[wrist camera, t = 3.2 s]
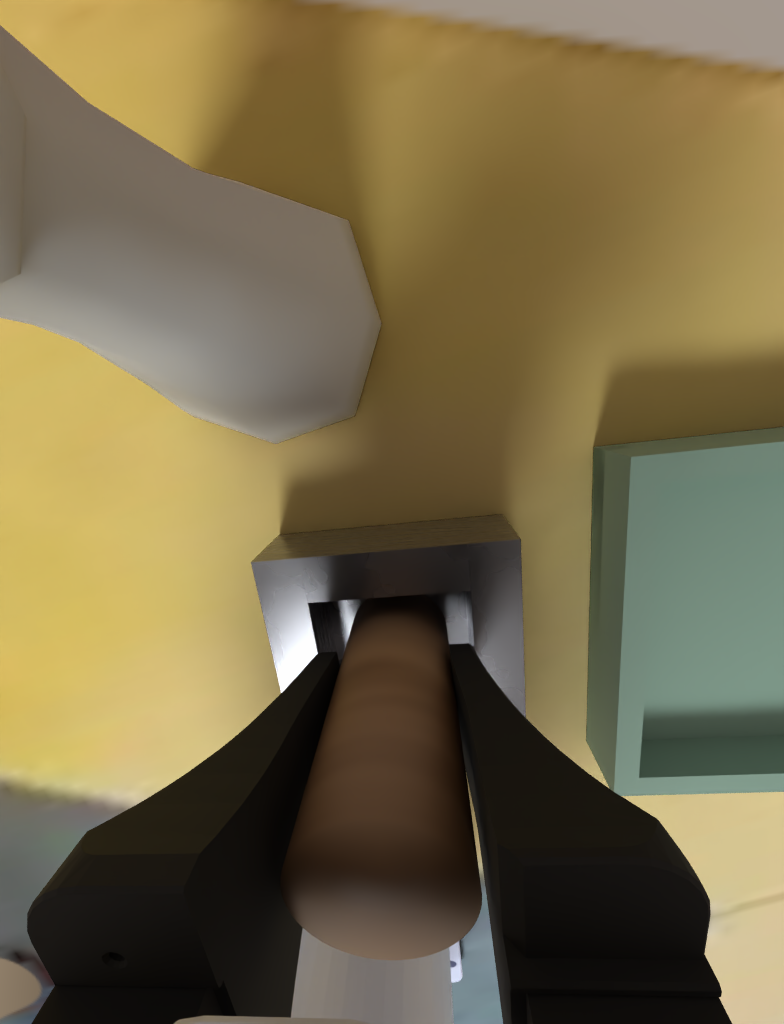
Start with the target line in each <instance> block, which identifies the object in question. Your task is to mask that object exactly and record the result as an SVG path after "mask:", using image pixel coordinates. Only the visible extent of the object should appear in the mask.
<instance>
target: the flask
mask: <svg viewBox="0 0 784 1024" xmlns="http://www.w3.org/2000/svg"><path fill="white" fill-rule="evenodd" d="M0 318H4V319H9V320H14V321H18V322H23V323H28V324H32V325H35V326H38V327H40V328H43V329H45V330H48V331H51V332H53V333H56V334H58V335H61V336H64V337H66V338H69V339H71V340H74V341H77V342H79V343H81V344H82V345H84V346H86V347H87V348H89V349H90V350H92V351H94V352H95V353H97V354H99V355H100V356H102V357H103V358H105V359H107V360H108V361H110V362H111V363H113V364H115V365H116V366H118V367H120V368H121V369H123V370H124V371H126V372H128V373H129V374H131V375H132V376H134V377H136V378H137V379H139V380H141V381H142V382H144V383H145V384H147V385H149V386H150V387H151V388H153V389H154V390H156V391H157V392H158V393H160V394H161V395H162V396H164V397H165V398H167V399H168V400H169V401H171V402H172V403H174V404H175V405H176V406H178V407H179V408H181V409H182V410H183V411H185V412H187V413H188V414H190V415H192V416H193V417H196V418H199V419H202V420H205V421H208V422H211V423H214V424H217V425H220V426H223V427H226V428H229V429H232V430H235V431H238V432H241V433H244V434H247V435H250V436H253V437H256V438H259V439H262V440H265V441H268V442H271V443H274V444H277V443H280V442H283V441H285V440H288V439H291V438H294V437H297V436H300V435H302V434H305V433H308V432H311V431H314V430H316V429H319V428H322V427H325V426H328V425H331V424H333V423H336V422H339V421H342V420H345V419H347V418H350V417H353V416H355V414H356V411H357V407H358V404H359V400H360V397H361V393H362V390H363V386H364V383H365V380H366V376H367V373H368V369H369V366H370V362H371V359H372V355H373V352H374V348H375V345H376V341H377V338H378V334H379V331H380V327H381V324H382V323H381V320H380V317H379V314H378V311H377V308H376V305H375V302H374V298H373V295H372V292H371V289H370V286H369V283H368V280H367V276H366V273H365V270H364V267H363V264H362V261H361V258H360V254H359V251H358V248H357V245H356V242H355V239H354V236H353V232H352V229H351V226H350V223H349V220H346V219H343V218H340V217H338V216H335V215H332V214H329V213H326V212H324V211H321V210H318V209H315V208H312V207H309V206H307V205H304V204H301V203H298V202H295V201H292V200H290V199H287V198H284V197H281V196H278V195H275V194H273V193H270V192H267V191H264V190H261V189H258V188H255V187H253V186H250V185H247V184H244V183H241V182H238V181H235V180H231V179H227V178H223V177H220V176H216V175H212V174H209V173H205V172H202V171H199V170H197V169H194V168H192V167H190V166H189V165H187V164H186V163H184V162H182V161H181V160H179V159H178V158H176V157H174V156H173V155H171V154H170V153H168V152H166V151H165V150H163V149H162V148H160V147H158V146H157V145H155V144H154V143H152V142H150V141H149V140H147V139H146V138H144V137H142V136H141V135H139V134H138V133H136V132H134V131H133V130H131V129H130V128H128V127H126V126H125V125H123V124H122V123H120V122H118V121H117V120H115V119H114V118H112V117H110V116H109V115H107V114H106V113H104V112H102V111H101V110H99V109H98V108H96V107H94V106H93V105H91V104H90V103H88V102H87V101H86V100H85V99H84V98H82V97H81V96H80V95H79V94H78V93H77V92H76V91H74V90H73V89H72V88H71V87H70V86H69V85H68V84H66V83H65V82H64V81H63V80H62V79H61V78H60V77H58V76H57V75H56V74H55V73H54V72H53V71H52V70H51V69H49V68H48V67H47V66H46V65H45V64H44V63H43V62H41V61H40V60H39V59H38V58H37V57H36V56H35V55H33V54H32V53H31V52H30V51H29V50H28V49H27V48H25V47H24V46H23V45H22V44H21V43H20V42H19V41H17V40H16V39H15V38H14V37H13V36H12V35H11V34H10V33H8V32H7V31H6V30H5V29H4V28H3V27H2V26H0Z"/></svg>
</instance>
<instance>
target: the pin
mask: <svg viewBox="0 0 784 1024" xmlns="http://www.w3.org/2000/svg"><path fill="white" fill-rule="evenodd" d="M280 887H281V893H282V897H283V900H284V902H285V905H286V907H287V908H288V910H289V912H290V914H291V915H292V916H293V917H294V919H295V920H296V921H297V922H298V923H299V924H300V925H301V926H302V927H303V929H305V930H306V931H307V932H308V933H310V934H311V935H312V936H314V937H315V938H317V939H318V940H320V941H321V942H323V943H325V944H327V945H329V946H331V947H333V948H335V949H338V950H340V951H343V952H346V953H349V954H352V955H355V956H360V957H364V958H370V959H377V960H408V959H416V958H420V957H425V956H429V955H432V954H435V953H438V952H440V951H442V950H445V949H447V948H449V947H450V946H452V945H454V944H455V943H457V942H458V941H459V940H461V939H462V938H463V937H464V936H465V935H466V934H467V933H468V932H469V931H470V930H471V929H472V927H473V926H474V924H475V923H476V921H477V918H478V916H479V914H480V910H481V905H482V892H481V884H480V877H479V869H478V861H477V854H476V846H475V838H474V831H473V823H472V816H471V808H470V800H469V793H468V785H467V777H466V770H465V762H464V755H463V747H462V739H461V732H460V724H459V716H458V709H457V702H456V695H455V690H454V684H453V676H452V669H451V660H450V648H449V640H448V633H447V626H446V621H445V618H444V616H443V614H442V612H441V610H440V609H439V607H438V606H437V605H436V604H435V603H434V602H433V601H432V600H431V599H429V598H428V597H426V596H425V595H423V594H421V595H407V596H394V597H381V598H368V599H367V600H365V601H364V602H363V603H362V605H361V606H360V607H359V609H358V610H357V612H356V615H355V617H354V620H353V624H352V627H351V631H350V634H349V638H348V641H347V645H346V648H345V652H344V655H343V659H342V662H341V666H340V669H339V673H338V676H337V680H336V683H335V686H334V690H333V693H332V697H331V700H330V704H329V707H328V711H327V714H326V718H325V721H324V725H323V728H322V732H321V735H320V739H319V742H318V746H317V749H316V753H315V756H314V760H313V763H312V767H311V770H310V773H309V777H308V780H307V784H306V787H305V791H304V794H303V798H302V801H301V805H300V808H299V812H298V815H297V819H296V822H295V826H294V829H293V833H292V836H291V840H290V843H289V847H288V850H287V853H286V857H285V860H284V864H283V867H282V872H281V877H280Z"/></svg>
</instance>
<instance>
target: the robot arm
mask: <svg viewBox="0 0 784 1024" xmlns="http://www.w3.org/2000/svg"><path fill="white" fill-rule="evenodd" d="M449 648H450V660H451V669H452V676H453V684H454V690H455V695H456V702H457V709H458V716H459V724H460V732H461V739H462V747H463V755H464V762H465V769H466V773H467V778H468V783H469V787H470V792H471V797H472V801H473V806H474V811H475V816H476V822H477V827H478V834H479V841H480V849H481V856H482V863H483V871H484V878H485V886H486V894H487V901H488V909H489V916H490V924H491V932H492V939H493V947H494V955H495V963H496V970H497V978H498V986H499V994H500V1002H501V1009H502V1017H503V1024H732V1023H731V1021H730V1019H729V1017H728V1015H727V1013H726V1011H725V1009H724V1007H723V1005H722V1003H721V1001H720V999H719V997H721V993H722V991H721V987H720V984H719V982H718V980H717V978H716V976H715V974H714V972H713V970H712V968H711V966H710V964H709V962H708V961H707V959H706V957H705V955H704V953H705V946H706V940H707V933H708V927H709V921H710V900H709V898H708V895H707V893H706V891H705V889H704V887H703V885H702V884H701V882H700V880H699V878H698V876H697V875H696V873H695V871H694V870H693V868H692V867H691V865H690V863H689V862H688V860H687V859H686V857H685V856H684V855H683V853H682V852H681V850H680V849H679V848H678V846H677V845H676V843H675V842H674V841H673V839H672V838H671V837H670V835H669V834H668V832H667V831H666V830H665V828H664V827H663V826H662V824H661V823H660V822H659V820H658V819H656V818H655V817H653V816H651V815H650V814H648V813H647V812H645V811H644V810H642V809H640V808H639V807H637V806H636V805H634V804H632V803H631V802H629V801H628V800H626V799H624V798H623V797H621V796H620V795H618V794H617V793H615V792H613V791H612V790H610V789H609V788H608V787H606V786H605V785H603V784H602V783H601V782H599V781H598V780H596V779H595V778H594V777H592V776H591V775H589V774H588V773H587V772H586V771H584V770H583V769H582V768H581V767H579V766H578V765H577V764H576V763H574V762H573V761H572V760H571V759H570V758H568V757H567V756H566V755H565V754H563V753H562V752H561V751H560V750H559V749H557V748H556V747H555V746H554V745H553V744H552V743H551V742H550V741H549V740H548V739H546V738H545V737H544V736H543V735H542V734H541V733H540V732H539V731H538V730H537V729H536V728H535V727H534V726H533V725H532V724H531V723H530V722H529V721H528V720H527V719H526V718H525V717H524V716H523V715H522V713H521V712H520V711H519V710H518V709H517V708H516V707H515V706H514V704H513V703H512V702H511V701H510V700H509V699H508V697H507V696H506V695H505V694H504V692H503V691H502V690H501V689H500V687H499V686H498V685H497V683H496V682H495V681H494V679H493V678H492V677H491V675H490V674H489V672H488V671H487V670H486V668H485V667H484V665H483V663H482V662H481V660H480V659H479V657H478V655H477V654H476V652H475V650H474V648H473V646H472V645H471V644H469V643H465V644H449ZM339 669H340V665H339V660H338V654H337V652H322V653H318V654H317V655H316V656H315V657H314V658H313V659H312V660H311V661H310V662H309V664H308V665H307V666H306V667H305V668H304V669H303V670H302V671H301V672H300V674H299V675H298V676H297V677H296V678H295V679H294V680H293V681H292V682H291V683H290V685H289V686H288V687H287V688H286V689H285V690H284V691H283V692H282V693H281V694H280V695H279V696H278V697H277V698H276V699H275V700H274V701H273V702H272V703H271V704H270V705H269V706H268V707H267V708H266V709H265V710H264V711H263V712H262V713H261V714H260V715H259V716H258V717H257V718H256V719H255V720H254V721H253V722H252V723H251V724H249V725H248V726H247V727H246V728H245V729H244V730H243V731H241V732H240V733H239V734H238V735H237V736H235V737H234V738H233V739H232V740H231V741H229V742H228V743H227V744H226V745H225V746H223V747H222V748H221V749H219V750H218V751H217V752H215V753H214V754H213V755H211V756H210V757H209V758H207V759H206V760H204V761H203V762H202V763H200V764H199V765H198V766H196V767H195V768H194V769H192V770H191V771H189V772H188V773H186V774H185V775H184V776H182V777H181V778H179V779H177V780H176V781H174V782H173V783H171V784H170V785H168V786H167V787H165V788H164V789H162V790H160V791H159V792H157V793H155V794H154V795H152V796H151V797H149V798H147V799H146V800H144V801H142V802H141V803H139V804H137V805H135V806H134V807H132V808H130V809H128V810H126V811H124V812H123V813H121V814H119V815H117V816H115V817H114V818H112V819H110V820H108V821H106V822H104V823H103V824H101V825H99V826H97V827H95V828H93V829H91V830H89V831H87V832H86V834H85V835H84V836H83V837H82V839H81V840H80V841H79V843H78V844H77V845H76V847H75V848H74V849H73V850H72V852H71V853H70V854H69V856H68V857H67V858H66V860H65V861H64V862H63V864H62V865H61V866H60V868H59V869H58V870H57V871H56V873H55V874H54V875H53V877H52V878H51V879H50V881H49V882H48V883H47V885H46V886H45V887H44V888H43V890H42V891H41V892H40V894H39V895H38V896H37V898H36V899H35V900H34V902H33V903H32V905H31V907H30V909H29V911H28V915H27V931H28V934H29V937H30V939H31V942H32V944H33V946H34V948H35V950H36V952H37V953H38V955H39V957H40V959H41V961H42V962H43V964H44V966H45V968H46V970H47V971H48V973H49V975H50V977H51V979H52V980H53V982H54V984H55V987H54V988H53V990H52V991H51V993H50V995H49V996H48V998H47V1000H46V1001H45V1003H44V1004H43V1006H42V1008H41V1009H40V1011H39V1013H38V1014H37V1016H36V1017H35V1019H34V1021H33V1022H32V1024H454V1018H453V1001H452V984H451V982H458V981H460V980H461V979H462V976H463V974H462V963H461V953H460V944H459V941H458V942H457V943H455V944H454V945H452V946H450V947H449V948H447V949H445V950H442V951H440V952H438V953H435V954H432V955H429V956H425V957H420V958H416V959H408V960H377V959H370V958H364V957H360V956H355V955H352V954H349V953H346V952H343V951H340V950H338V949H335V948H333V947H331V946H329V945H327V944H325V943H323V942H321V941H320V940H318V939H317V938H315V937H314V936H312V935H311V934H310V933H308V932H307V931H306V930H305V929H303V927H302V926H301V925H300V924H299V923H298V922H297V921H296V920H295V919H294V917H293V916H292V915H291V914H290V912H289V910H288V908H287V907H286V905H285V902H284V900H283V897H282V893H281V887H280V877H281V872H282V867H283V864H284V860H285V857H286V853H287V850H288V847H289V843H290V840H291V836H292V833H293V829H294V826H295V822H296V819H297V815H298V812H299V808H300V805H301V801H302V798H303V794H304V791H305V787H306V784H307V780H308V777H309V773H310V770H311V767H312V763H313V760H314V756H315V753H316V749H317V746H318V742H319V739H320V735H321V732H322V728H323V725H324V721H325V718H326V714H327V711H328V707H329V704H330V700H331V697H332V693H333V690H334V686H335V683H336V680H337V676H338V673H339Z"/></svg>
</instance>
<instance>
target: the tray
mask: <svg viewBox="0 0 784 1024" xmlns="http://www.w3.org/2000/svg"><path fill="white" fill-rule="evenodd" d="M586 741H587V743H588V745H589V747H590V749H591V751H592V753H593V755H594V757H595V759H596V761H597V763H598V765H599V767H600V769H601V771H602V773H603V775H604V777H605V779H606V782H607V784H608V786H609V788H610V790H612V791H613V792H615V793H617V794H618V795H620V796H639V795H676V794H713V793H751V792H784V427H778V428H769V429H759V430H750V431H740V432H731V433H721V434H712V435H702V436H693V437H683V438H674V439H664V440H655V441H645V442H636V443H626V444H617V445H607V446H598V447H594V452H593V493H592V534H591V574H590V615H589V655H588V696H587V736H586Z"/></svg>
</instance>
